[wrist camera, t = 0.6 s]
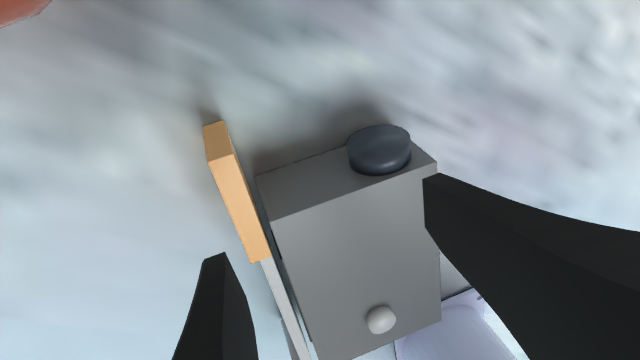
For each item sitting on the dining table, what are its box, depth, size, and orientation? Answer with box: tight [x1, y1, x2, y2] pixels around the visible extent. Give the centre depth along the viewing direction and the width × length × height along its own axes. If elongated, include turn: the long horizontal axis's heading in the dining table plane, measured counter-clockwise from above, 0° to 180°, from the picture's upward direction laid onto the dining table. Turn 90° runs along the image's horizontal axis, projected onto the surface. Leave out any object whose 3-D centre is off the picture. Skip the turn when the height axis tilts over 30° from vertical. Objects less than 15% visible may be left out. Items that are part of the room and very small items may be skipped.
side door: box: [202, 120, 312, 360], centre depth 20 cm, size 15×1×4 cm, turn 12°
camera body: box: [254, 125, 441, 360], centre depth 21 cm, size 13×8×5 cm, turn 12°
